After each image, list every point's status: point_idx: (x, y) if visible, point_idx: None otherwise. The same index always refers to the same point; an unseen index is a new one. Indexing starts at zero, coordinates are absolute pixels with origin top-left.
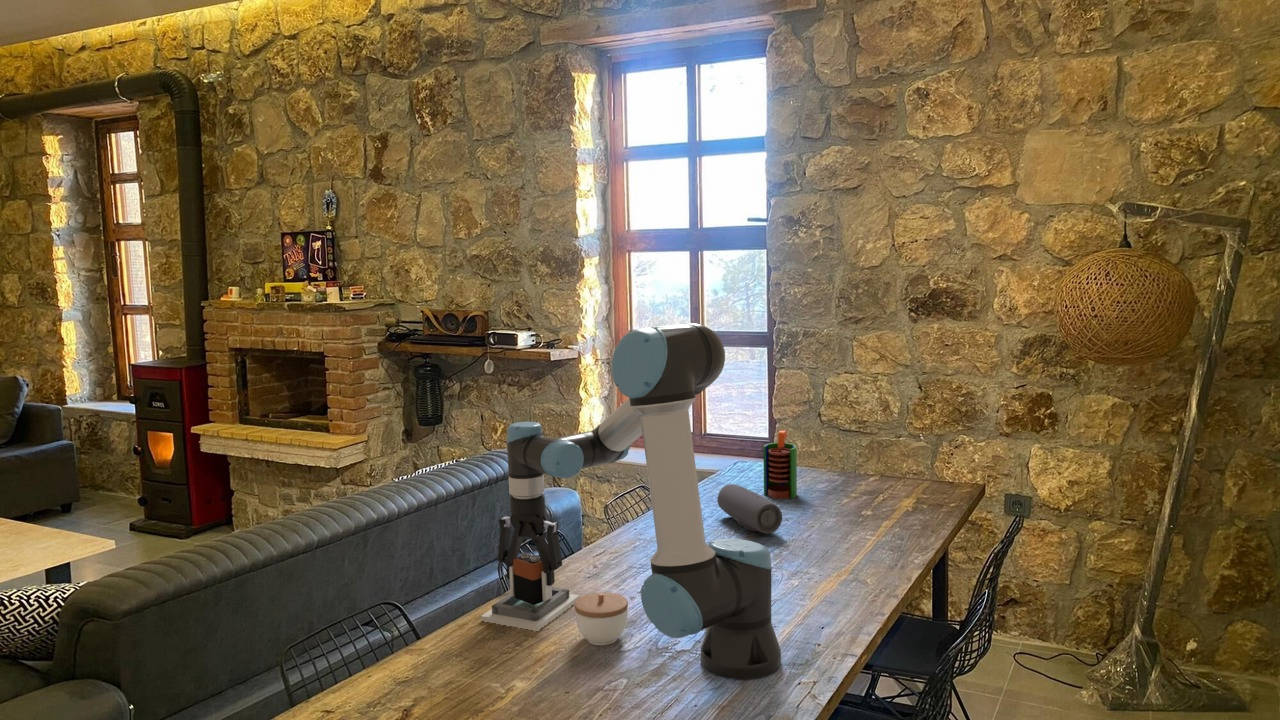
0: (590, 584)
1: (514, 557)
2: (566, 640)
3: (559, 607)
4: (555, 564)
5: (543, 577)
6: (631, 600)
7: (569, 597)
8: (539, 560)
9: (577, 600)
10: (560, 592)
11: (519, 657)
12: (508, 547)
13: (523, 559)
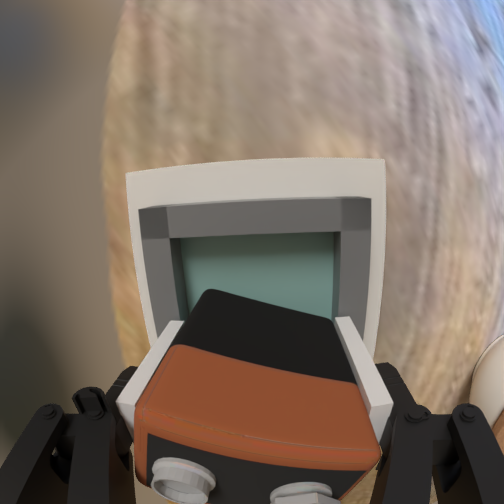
0: (319, 15)
1: (122, 465)
2: (433, 406)
3: (370, 299)
4: (456, 469)
5: None
6: (497, 114)
7: (360, 195)
8: (337, 486)
9: (497, 441)
10: (351, 243)
11: (364, 479)
12: (42, 470)
13: (213, 498)
